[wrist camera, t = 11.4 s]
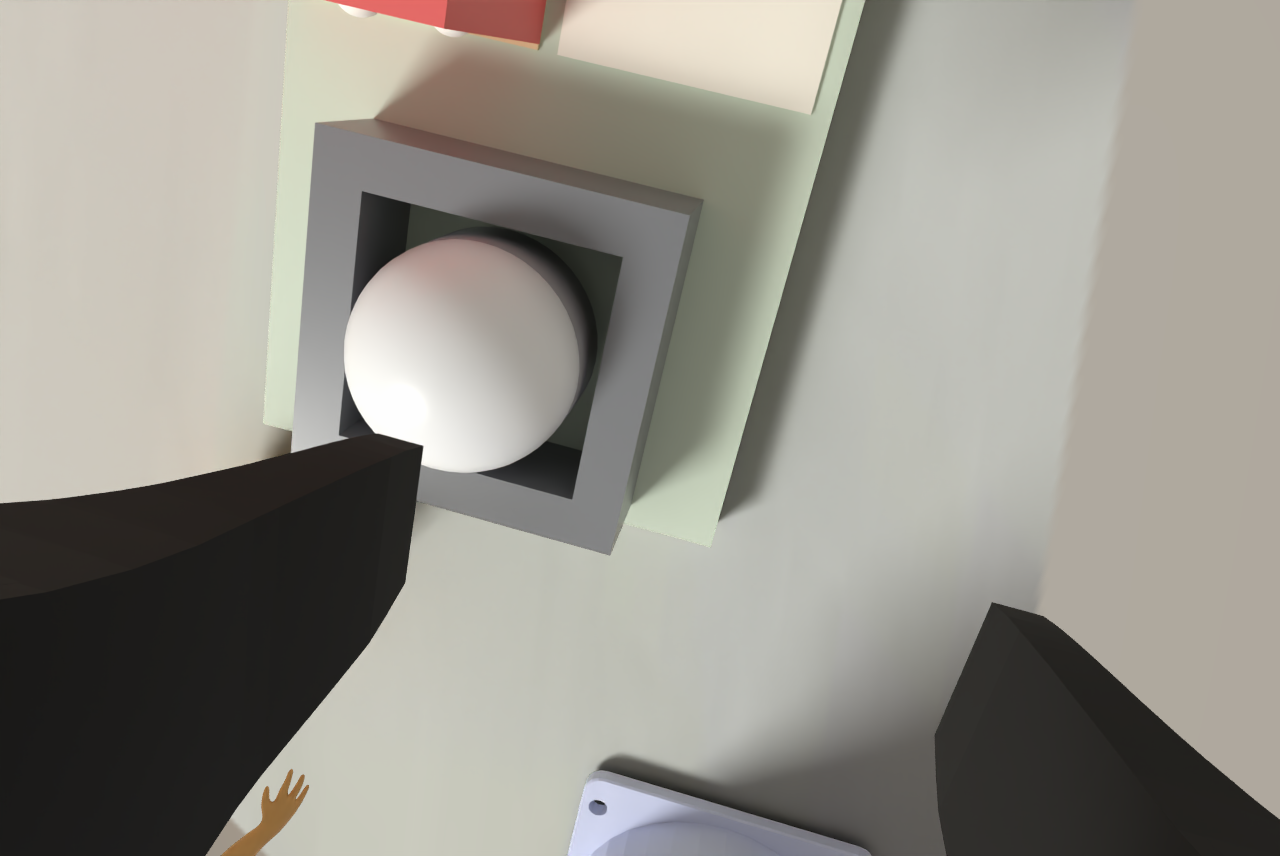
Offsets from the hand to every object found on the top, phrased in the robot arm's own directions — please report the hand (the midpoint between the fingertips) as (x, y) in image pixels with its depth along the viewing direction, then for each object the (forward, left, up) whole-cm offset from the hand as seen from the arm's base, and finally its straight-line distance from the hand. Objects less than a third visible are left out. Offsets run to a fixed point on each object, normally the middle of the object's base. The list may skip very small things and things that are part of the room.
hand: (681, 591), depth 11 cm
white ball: (0, +5, -8) cm, 10 cm away
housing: (0, +5, -9) cm, 10 cm away
